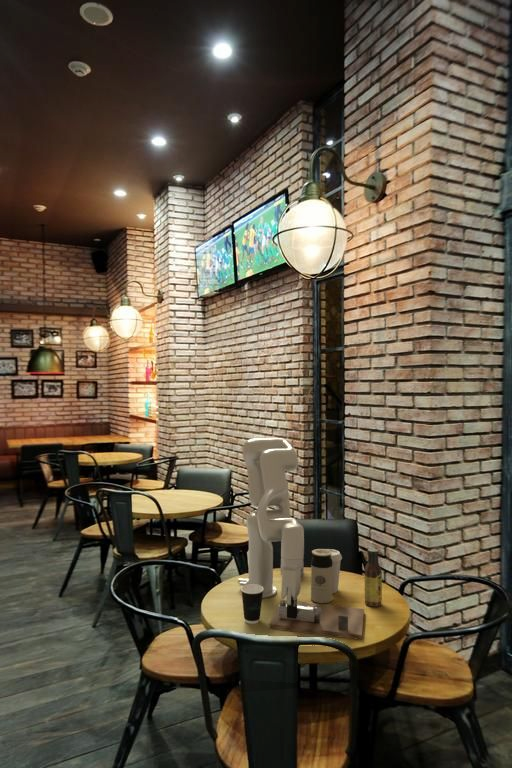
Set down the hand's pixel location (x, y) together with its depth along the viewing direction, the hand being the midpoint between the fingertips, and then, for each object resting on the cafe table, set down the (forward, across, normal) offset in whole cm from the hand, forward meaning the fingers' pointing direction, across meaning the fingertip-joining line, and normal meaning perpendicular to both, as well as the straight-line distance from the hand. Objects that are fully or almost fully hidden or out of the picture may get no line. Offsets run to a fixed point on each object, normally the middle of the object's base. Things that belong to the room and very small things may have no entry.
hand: (291, 617), depth 169 cm
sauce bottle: (+4, -28, +25) cm, 38 cm away
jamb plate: (+4, -8, +8) cm, 12 cm away
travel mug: (+4, -26, +6) cm, 27 cm away
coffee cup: (+4, -36, +8) cm, 37 cm away
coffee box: (+4, -50, -10) cm, 51 cm away
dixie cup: (+4, -2, -14) cm, 15 cm away
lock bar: (+2, -3, +2) cm, 4 cm away
